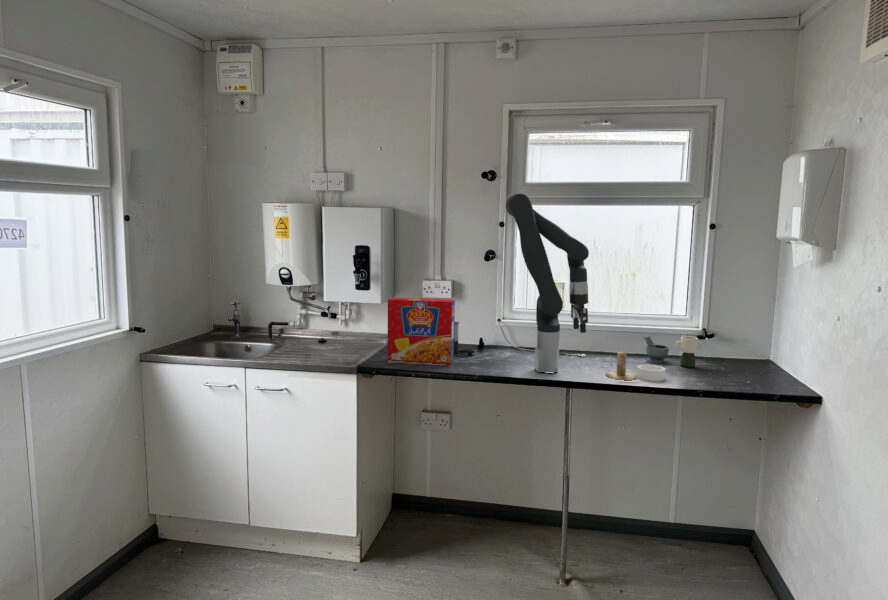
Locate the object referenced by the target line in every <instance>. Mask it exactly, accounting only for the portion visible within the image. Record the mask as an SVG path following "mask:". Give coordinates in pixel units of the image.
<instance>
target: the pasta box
mask: <svg viewBox="0 0 888 600" xmlns="http://www.w3.org/2000/svg"><path fill="white" fill-rule="evenodd" d="M455 301H456V300H455V299H441V298H440V299H439V298H416V297H415V298H413V297H390V298H388V299H387V361H388V360H392V361H405V362H417V363H432V364H446V365H451V364H452V363H453V364H454V362H455V359H454V358H455V357H454V355H455V354H454V321H455V312H456V311H455V309H456V308H455V305H456V304H455ZM453 361H454V362H453ZM453 364H452V365H453ZM452 365H451V366H452Z"/></svg>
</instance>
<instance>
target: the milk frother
mask: <svg viewBox="0 0 888 600" xmlns="http://www.w3.org/2000/svg"><path fill="white" fill-rule="evenodd" d="M459 325H460V322H459V321H455V320H454V355H457V354H456V353H458V354H459V353H460V354H468V355H469V354H471V355H473V354H474V353H476V350H474V349H472V348H469V349H461V350H459Z"/></svg>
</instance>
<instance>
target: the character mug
mask: <svg viewBox="0 0 888 600" xmlns="http://www.w3.org/2000/svg"><path fill="white" fill-rule="evenodd" d="M679 344H680V346H679ZM675 349H680V352H682V353H681V357H680V362H679V364H680V366H683V367H687V368H694V367H696V355H695V354H696V353H697V352H698V350H702V349H703V342H702V341H699V338H698V337H697V336H692V335H691V336H690V335H683V336H681V337H680V340H677V341H676V342H675Z"/></svg>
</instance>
